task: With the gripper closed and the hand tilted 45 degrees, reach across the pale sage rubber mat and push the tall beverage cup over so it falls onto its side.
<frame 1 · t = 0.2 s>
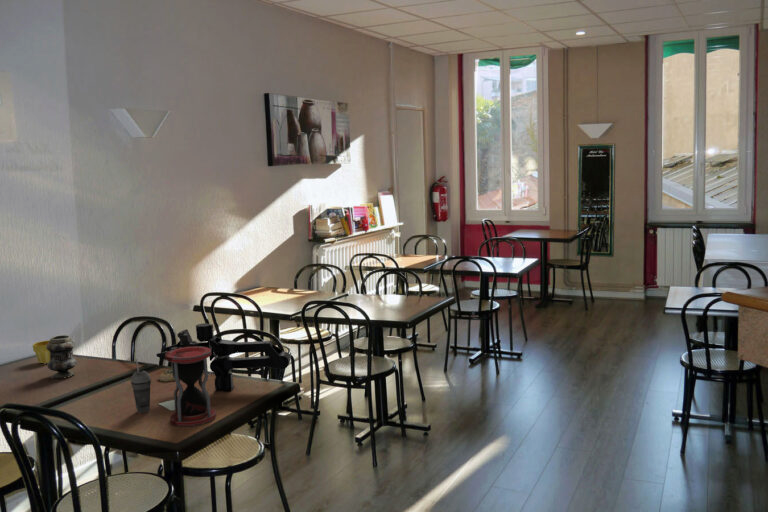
hand: (160, 352, 291), 17 cm above the table, tool horizontal, fingers open, 9 cm apart
mat: (178, 403, 277), on the table
plant pot: (46, 362, 346), on the table
apothecary jar: (63, 376, 322), on the table
hourglass: (193, 419, 260), on the table
beverage cup: (143, 411, 270), on the table
bread roll: (172, 379, 312), on the table
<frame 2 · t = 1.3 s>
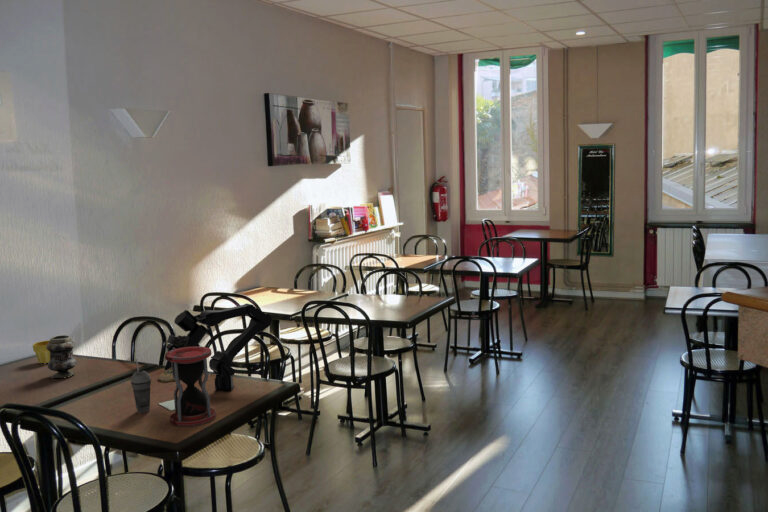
hand: (169, 371, 276), 13 cm above the table, tool tilted 45°, fingers open, 7 cm apart
nothing on the table moved.
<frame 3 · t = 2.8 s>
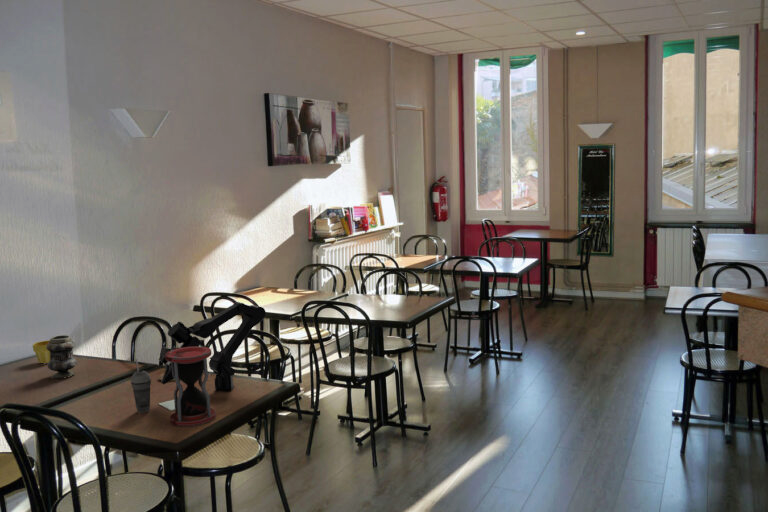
hand: (162, 383, 275), 9 cm above the table, tool tilted 45°, fingers closed
nothing on the table moved.
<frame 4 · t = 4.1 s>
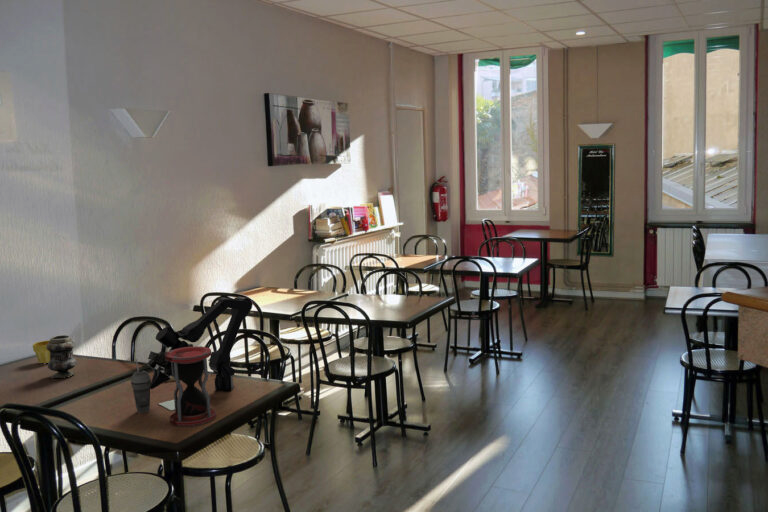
hand: (150, 388, 272), 8 cm above the table, tool tilted 45°, fingers closed, pressing on beverage cup
beverage cup: (143, 411, 270), on the table, touching gripper
everything else where it was.
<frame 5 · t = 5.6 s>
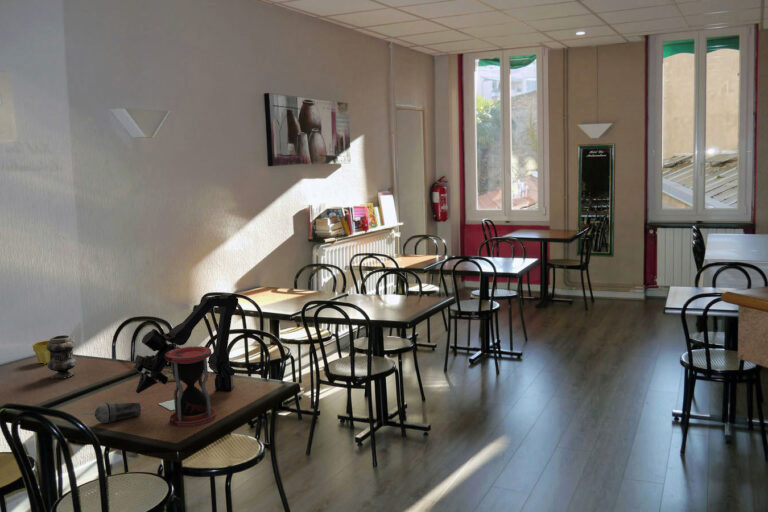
hand: (136, 392, 268), 8 cm above the table, tool tilted 45°, fingers closed
beverage cup: (139, 408, 266), point 2 cm above the table
everything else where it was.
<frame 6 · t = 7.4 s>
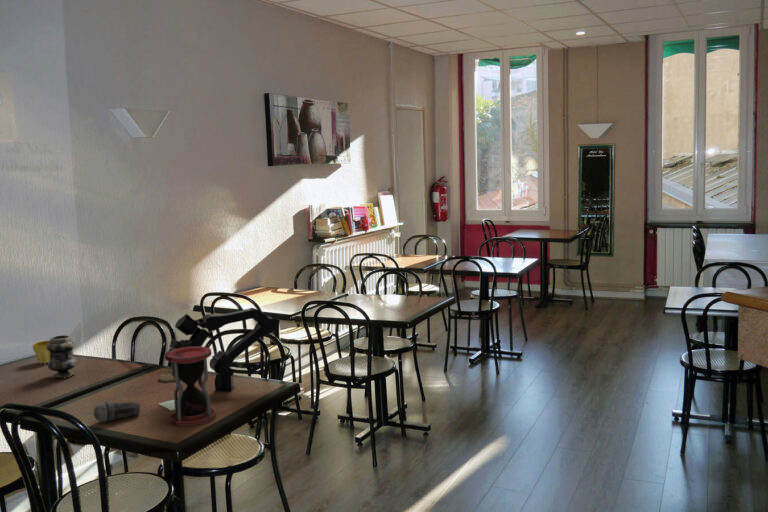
hand: (172, 375, 279), 10 cm above the table, tool tilted 45°, fingers closed
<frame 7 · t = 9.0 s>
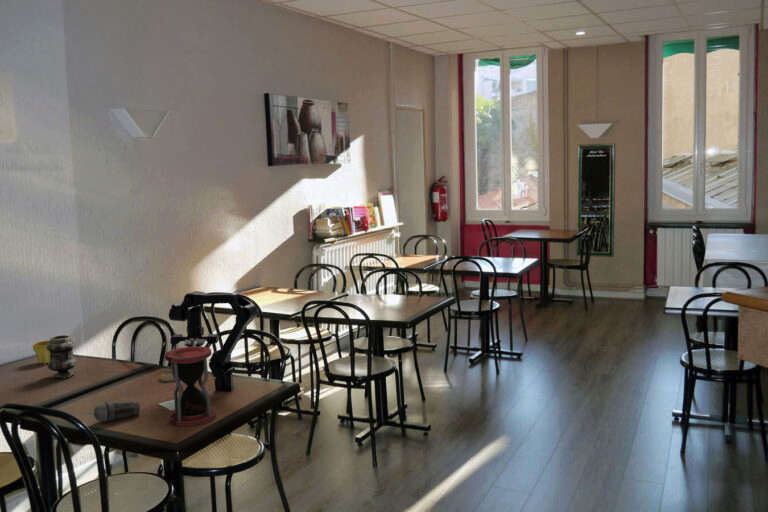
hand: (195, 359, 296), 12 cm above the table, tool pointing down, fingers closed
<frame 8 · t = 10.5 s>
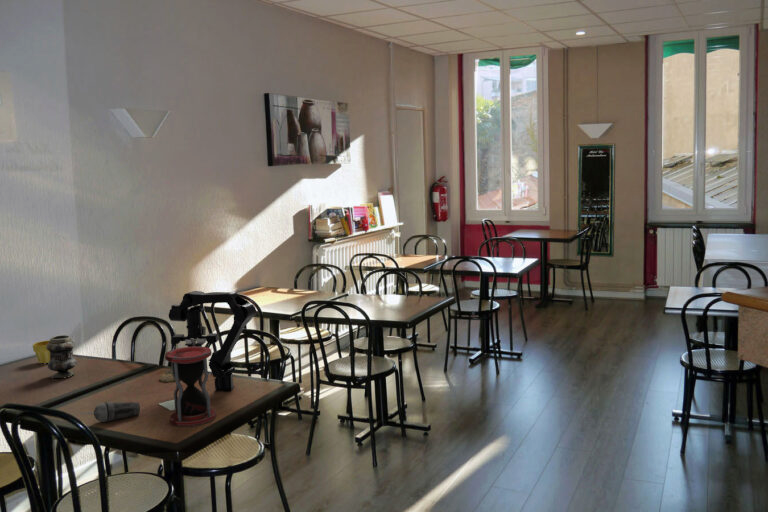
hand: (196, 358, 296), 12 cm above the table, tool pointing down, fingers closed
at the end: beverage cup tilted 84°; beverage cup moved 4.2 cm from its start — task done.
